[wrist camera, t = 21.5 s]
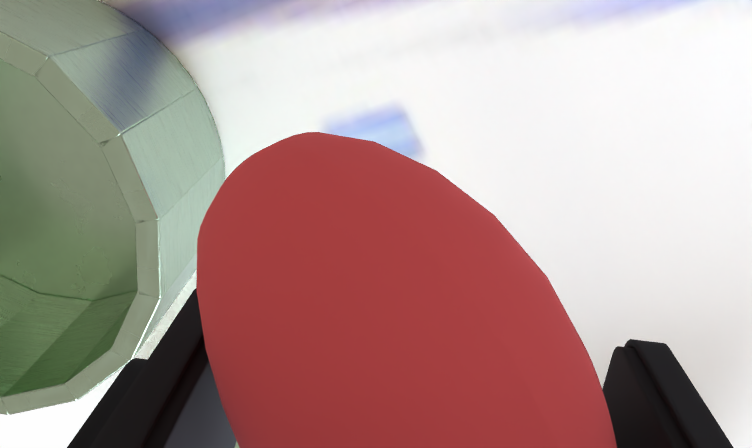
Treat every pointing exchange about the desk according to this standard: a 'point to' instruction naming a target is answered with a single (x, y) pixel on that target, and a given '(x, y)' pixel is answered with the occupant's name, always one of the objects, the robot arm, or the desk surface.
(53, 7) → the tin
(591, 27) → the desk surface
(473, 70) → the desk surface
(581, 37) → the desk surface
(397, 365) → the red kidney bean
